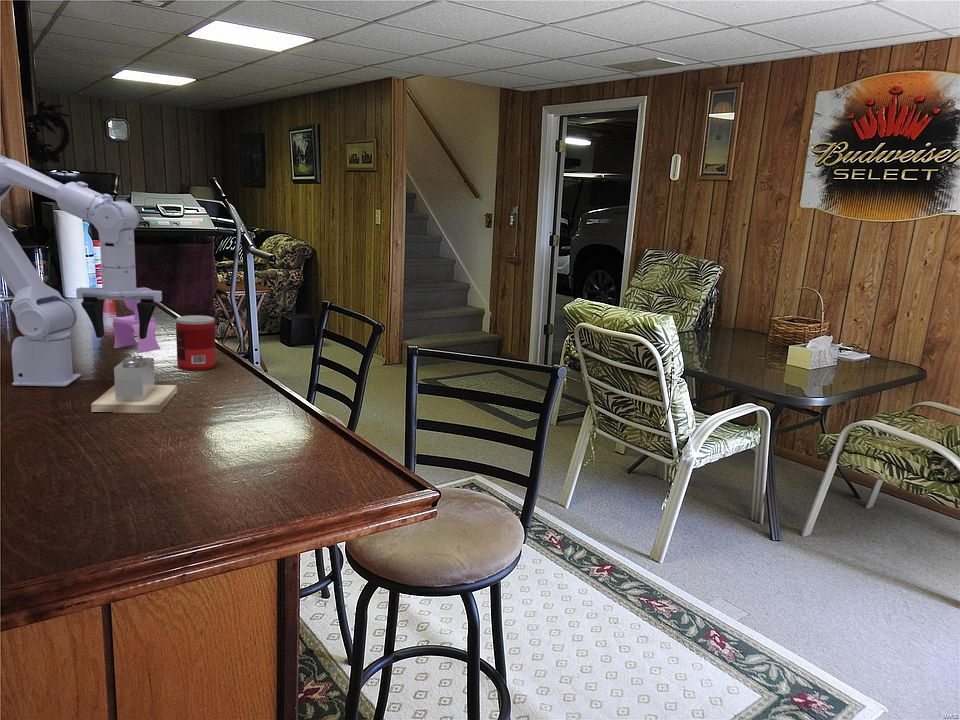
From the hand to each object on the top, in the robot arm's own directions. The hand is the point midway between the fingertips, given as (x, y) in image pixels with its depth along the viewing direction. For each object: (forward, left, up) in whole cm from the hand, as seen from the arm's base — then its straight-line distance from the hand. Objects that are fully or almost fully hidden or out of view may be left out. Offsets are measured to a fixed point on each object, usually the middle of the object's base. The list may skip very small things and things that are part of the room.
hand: (121, 337), depth 134 cm
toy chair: (-7, +34, -10) cm, 36 cm away
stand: (+5, -10, -10) cm, 15 cm away
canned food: (+10, +17, -10) cm, 22 cm away
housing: (+5, -10, -8) cm, 14 cm away
